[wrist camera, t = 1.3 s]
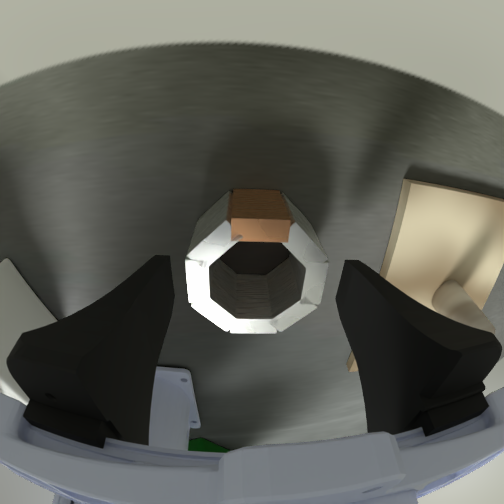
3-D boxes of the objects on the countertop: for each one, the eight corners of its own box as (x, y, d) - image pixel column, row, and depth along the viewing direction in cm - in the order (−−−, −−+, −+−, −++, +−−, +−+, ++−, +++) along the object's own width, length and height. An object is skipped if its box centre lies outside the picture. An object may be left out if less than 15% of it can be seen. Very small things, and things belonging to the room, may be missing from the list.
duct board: (451, 347, 21) (477, 392, 16) (346, 364, 20) (365, 425, 15) (515, 202, 14) (566, 239, 9) (403, 178, 13) (469, 223, 8)
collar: (300, 288, 16) (313, 332, 13) (200, 286, 16) (192, 331, 13) (315, 192, 13) (336, 222, 10) (195, 188, 13) (182, 217, 10)
